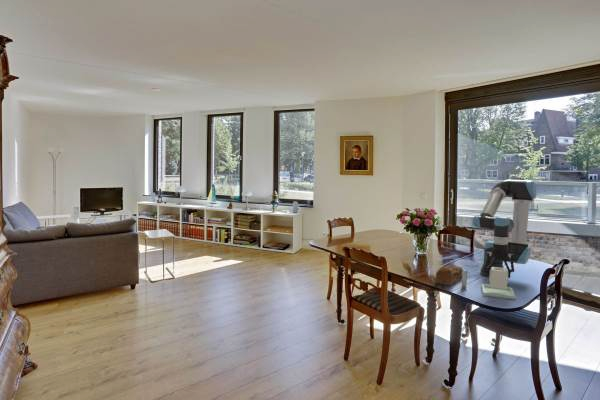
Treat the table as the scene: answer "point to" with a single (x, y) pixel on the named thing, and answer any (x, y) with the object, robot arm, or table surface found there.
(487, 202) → the robot arm
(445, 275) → the bread
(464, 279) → the grey metal cylinder
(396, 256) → the table surface
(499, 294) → the tray
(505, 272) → the hollow block
